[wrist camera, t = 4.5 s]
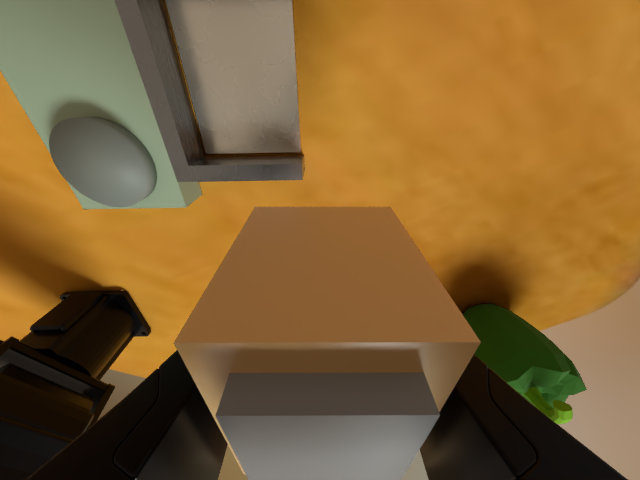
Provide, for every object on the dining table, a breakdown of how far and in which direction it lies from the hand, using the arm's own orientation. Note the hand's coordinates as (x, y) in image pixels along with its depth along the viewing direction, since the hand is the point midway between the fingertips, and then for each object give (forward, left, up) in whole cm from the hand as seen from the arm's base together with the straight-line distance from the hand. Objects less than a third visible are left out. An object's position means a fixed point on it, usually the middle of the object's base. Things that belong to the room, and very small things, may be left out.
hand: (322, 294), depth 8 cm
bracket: (+7, +5, -11) cm, 14 cm away
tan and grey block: (0, 0, -1) cm, 1 cm away
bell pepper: (-15, -17, -11) cm, 26 cm away
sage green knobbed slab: (+7, +13, -11) cm, 18 cm away
